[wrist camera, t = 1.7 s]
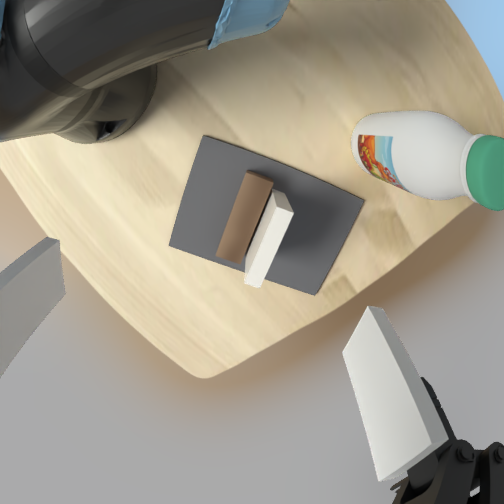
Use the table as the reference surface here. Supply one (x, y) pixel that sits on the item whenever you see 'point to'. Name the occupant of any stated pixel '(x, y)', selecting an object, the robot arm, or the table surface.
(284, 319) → the table surface
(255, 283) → the tile
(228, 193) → the mat
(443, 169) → the milk bottle
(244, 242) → the block
